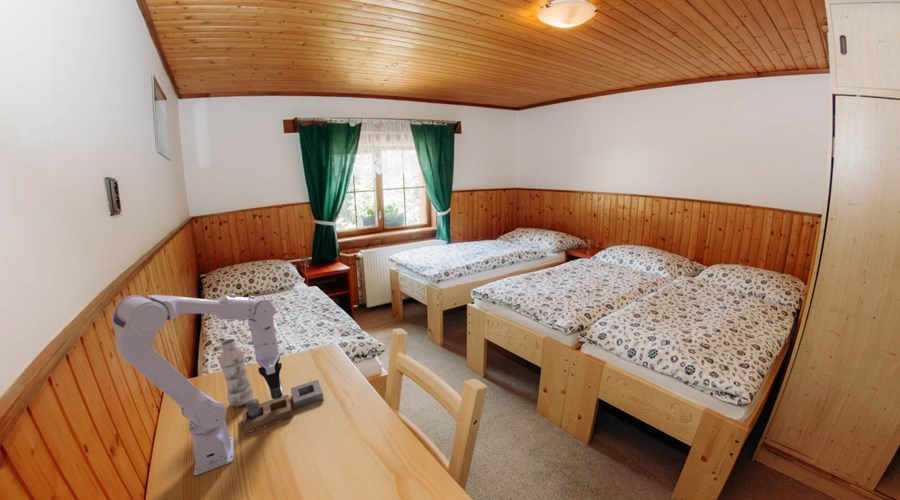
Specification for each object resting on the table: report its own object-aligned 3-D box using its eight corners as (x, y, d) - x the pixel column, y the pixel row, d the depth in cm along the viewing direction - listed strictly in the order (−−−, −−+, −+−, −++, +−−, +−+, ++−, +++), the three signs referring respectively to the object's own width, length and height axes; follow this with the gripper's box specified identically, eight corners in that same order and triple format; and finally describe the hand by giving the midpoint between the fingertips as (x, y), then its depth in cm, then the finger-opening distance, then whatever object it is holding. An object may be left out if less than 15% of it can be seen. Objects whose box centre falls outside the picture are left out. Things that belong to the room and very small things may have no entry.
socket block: (323, 400, 112) (322, 392, 111) (295, 409, 108) (293, 402, 108) (319, 386, 119) (317, 379, 118) (291, 395, 115) (290, 388, 115)
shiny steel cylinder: (283, 396, 106) (278, 367, 103) (272, 400, 104) (266, 371, 102) (281, 391, 108) (276, 363, 106) (270, 395, 107) (264, 366, 104)
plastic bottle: (258, 395, 116) (245, 336, 112) (244, 409, 110) (230, 347, 105) (239, 395, 117) (225, 336, 112) (224, 409, 111) (209, 347, 106)
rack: (292, 417, 105) (289, 398, 104) (244, 434, 100) (240, 414, 98) (289, 401, 112) (286, 384, 111) (244, 416, 107) (240, 398, 105)
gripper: (283, 347, 97) (292, 393, 101) (278, 326, 110) (286, 368, 113) (253, 355, 94) (263, 402, 98) (251, 333, 107) (260, 375, 110)
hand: (274, 384), depth 105 cm, fingers closed on shiny steel cylinder, 3 cm apart
